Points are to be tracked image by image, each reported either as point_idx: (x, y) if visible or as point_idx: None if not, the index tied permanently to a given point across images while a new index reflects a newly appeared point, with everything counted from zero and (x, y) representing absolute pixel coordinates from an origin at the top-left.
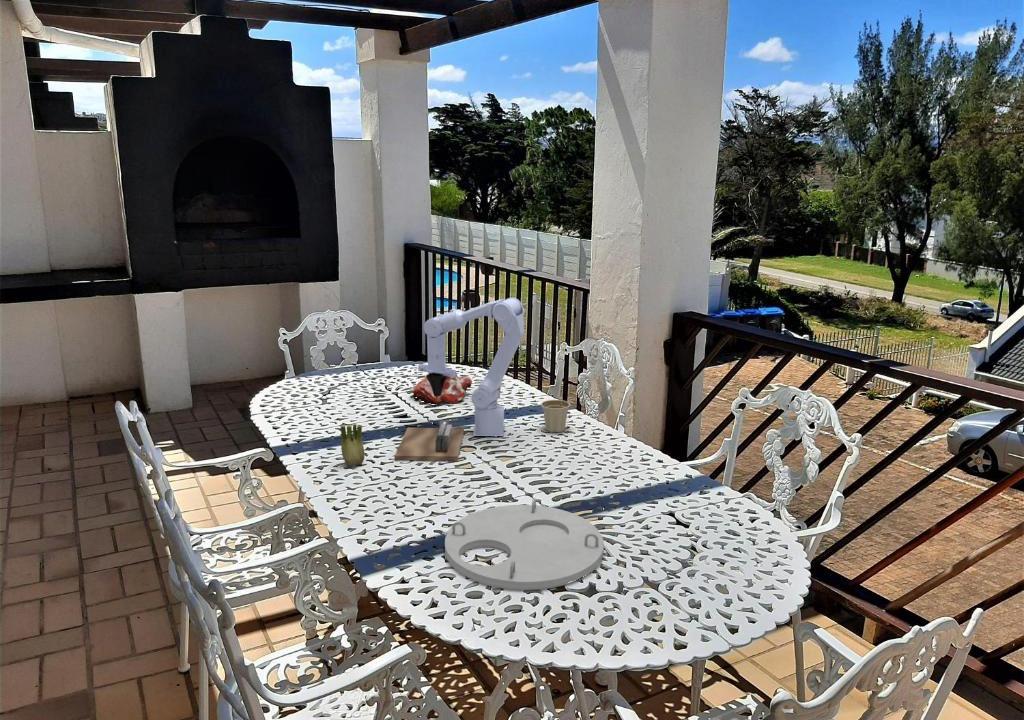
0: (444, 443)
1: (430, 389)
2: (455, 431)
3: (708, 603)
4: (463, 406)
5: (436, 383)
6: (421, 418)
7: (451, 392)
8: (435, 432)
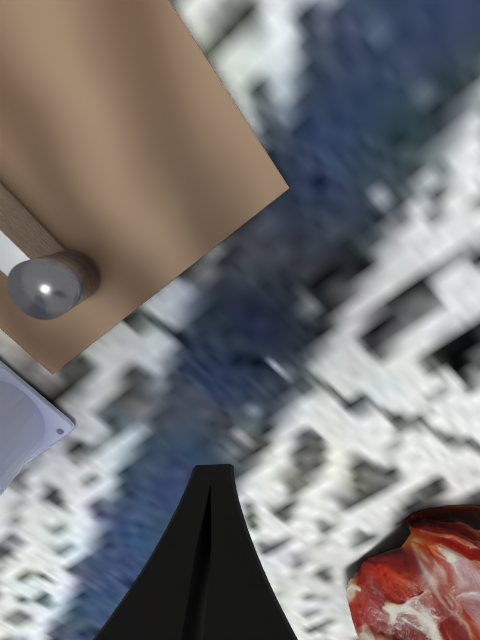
0: None
1: None
2: None
3: None
4: (312, 557)
5: (121, 624)
6: (364, 381)
7: (405, 612)
8: (100, 235)
